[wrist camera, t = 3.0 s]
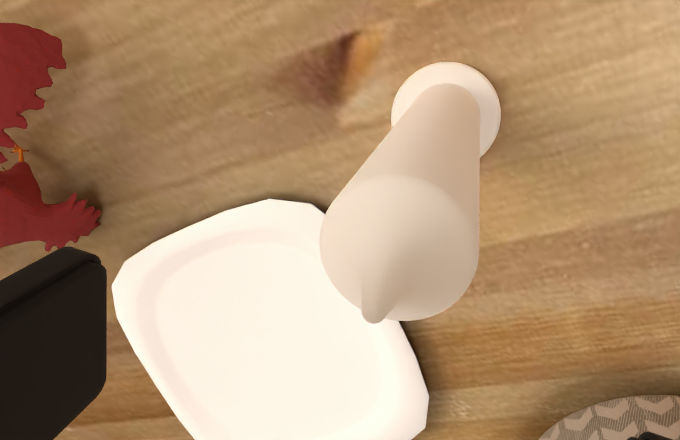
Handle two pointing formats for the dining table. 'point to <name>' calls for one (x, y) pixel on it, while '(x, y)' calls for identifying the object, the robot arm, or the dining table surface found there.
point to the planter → (621, 419)
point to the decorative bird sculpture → (18, 182)
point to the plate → (265, 334)
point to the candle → (415, 200)
